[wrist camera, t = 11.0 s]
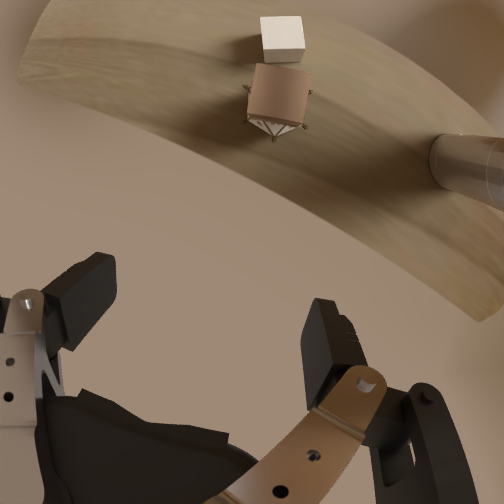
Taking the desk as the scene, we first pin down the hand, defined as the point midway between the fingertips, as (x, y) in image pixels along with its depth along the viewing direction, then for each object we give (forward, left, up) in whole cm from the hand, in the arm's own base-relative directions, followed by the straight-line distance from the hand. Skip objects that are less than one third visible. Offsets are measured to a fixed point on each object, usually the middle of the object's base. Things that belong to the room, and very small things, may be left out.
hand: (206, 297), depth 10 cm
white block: (0, -21, -30) cm, 37 cm away
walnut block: (-1, -11, -22) cm, 25 cm away
